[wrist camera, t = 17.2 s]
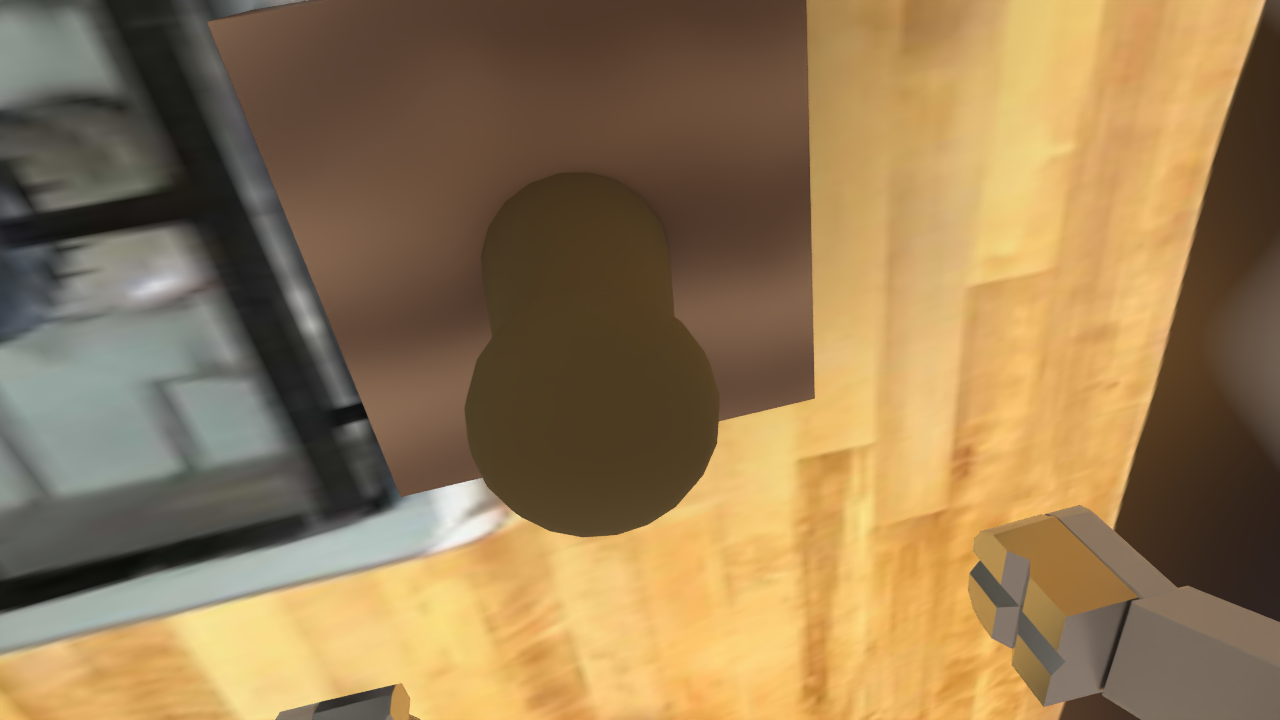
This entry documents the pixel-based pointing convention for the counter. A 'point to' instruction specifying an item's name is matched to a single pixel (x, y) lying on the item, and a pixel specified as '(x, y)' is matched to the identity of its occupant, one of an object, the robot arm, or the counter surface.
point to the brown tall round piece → (586, 363)
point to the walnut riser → (530, 177)
